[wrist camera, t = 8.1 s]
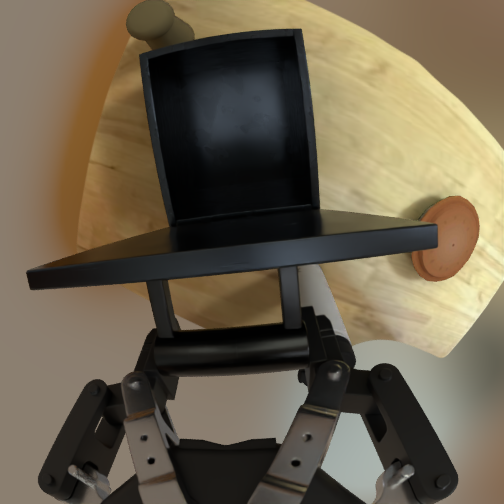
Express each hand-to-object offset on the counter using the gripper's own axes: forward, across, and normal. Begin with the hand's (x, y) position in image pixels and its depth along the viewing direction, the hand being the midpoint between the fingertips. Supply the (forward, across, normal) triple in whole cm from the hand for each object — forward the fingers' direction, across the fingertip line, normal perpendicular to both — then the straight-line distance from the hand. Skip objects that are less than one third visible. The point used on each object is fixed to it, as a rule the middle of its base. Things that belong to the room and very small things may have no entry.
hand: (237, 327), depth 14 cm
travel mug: (+27, -7, +15) cm, 32 cm away
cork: (+28, +7, -23) cm, 36 cm away
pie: (+27, -32, +10) cm, 43 cm away
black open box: (+27, 0, -9) cm, 29 cm away
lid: (+5, 0, -3) cm, 6 cm away
